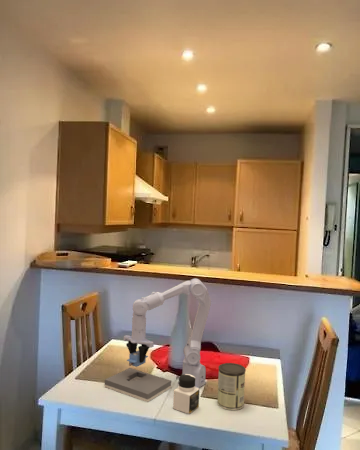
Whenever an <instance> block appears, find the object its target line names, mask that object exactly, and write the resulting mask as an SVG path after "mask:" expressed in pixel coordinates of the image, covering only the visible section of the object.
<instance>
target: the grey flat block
mask: <svg viewBox="0 0 360 450" xmlns="http://www.w3.org/2000/svg"><path fill="white" fill-rule="evenodd" d="M104 388H107V389H110V390H112V391H114V392H118V393H121V394H124V395H127V396H130V397H133V398H135V399H137V400H141V401H143V402H146V403H149V402H150V401H151V400H153V399H155V398H157V397H159V396H160V395H162V394H163V393H165V392H167V391H168V390H170V389H171V388H172V380H170V379H168V378H164V377H160V376H158V375H155V374H152V373H147V372H145V371H143V370H141V371H140V369H139V370H138V369H134V368H132V367H129V368H126V369H125V370H122V371H119V372H118V373H116V374H114V375H111V376H109V377H107V378H105V379H104Z"/></svg>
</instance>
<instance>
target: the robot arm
mask: <svg viewBox="0 0 360 450" xmlns="http://www.w3.org/2000/svg"><path fill="white" fill-rule="evenodd" d="M208 291H209V290H208V288H207V287H206V285H205V284H204V283H203V282H202V281H201V280H200V279H199V278H192V279H190V280H185V281H184V282H181V283H179V284H177V285H176V286H173V287H171V288H169V289H167V290H165V291H162V292H159V291H156V292H155V291H152V292H151V294H150V295H147V296H141V299H139V298H138V299H135V301H134V302H133V304H132V318H131V321H132V323H131V335H127V334H126V335H124V336H123V341H124V342H126V341H127V343H126V344H125V345H126V348H127V349H128V352H129V354H131V353H133V352H136V351H137V348H138V350H139V354H140V363H142V362H144V359H145V356H147V353H148V351H149V349H151V348H153V347H154V346H155V345H154V344H155V343H154V341H152V340H149V339H148V338H146V330H147V328H146V327H147V318H146V315H147V312H148V311H151V310H153V309H156V308H158V307H160V306H162V305H164V303H165V301H166V300H169V299H171V298H174V297H177V296H179V295H181V294H182V295H187V296H188V295H189V296H190V294H191V295H192V296H193V297H194V298H196V300H197V301H198V306H197V309H196V314H195V318H194V322H193V324H192V325H193V326H192V329H191V333H190V335H189V338H188V340H187V343H186V345H185V346H184V347H183V354H184V358H183V360H182V373H181V375H184V374H190V375H193V376H194V377H195V387H196V388H199V389H200V388H201V387H202V386H205V384H206V383H207V381H206V376H207V375H206V372H207V371H206V370H207V369H206V366H205V365H203V364H202V363H201V358H202V357H201V349H202V345H201V344H202V339H203V335H204V331H205V328H206V324H207V320H208V317H209V312H210V309H211V305H212V299H211V296H210V294H209V292H208ZM138 345H139V346H138ZM177 383H178V384H179V381H178V382H177Z"/></svg>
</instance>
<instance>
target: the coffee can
mask: <svg viewBox="0 0 360 450" xmlns="http://www.w3.org/2000/svg"><path fill="white" fill-rule="evenodd" d="M246 370H247V369H246V367H245V366H244V365H241V364H239V363H234V362H233V363H232V362H226V363H221V364H219V365H218V376H217V377H218V379H217V380H218V382H217V406H218V407H219V408H220V409H223V410H228V411H238V410H241V409H243V408H244V407H245V403H244V402H245V388H246V387H245V386H246V385H245V384H246Z"/></svg>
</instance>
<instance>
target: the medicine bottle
mask: <svg viewBox="0 0 360 450" xmlns="http://www.w3.org/2000/svg"><path fill="white" fill-rule="evenodd" d="M178 378H179V379H178V382H179V383H178V386H177V387H176V388H175V389H174V390H173V400H172V401H173V402H172V403H173V404H172V406H173V407H172V409H174V410H177V411H179V412H182V413H184V414H187V415H189V414H191V413H193V412H194V411H195V410H196V409H198V408H199V405H200V387H199V388H196V387H195V377H194V376H193V375H190V374H184V375H182V374H181V375H180V376H179V377H178Z"/></svg>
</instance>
